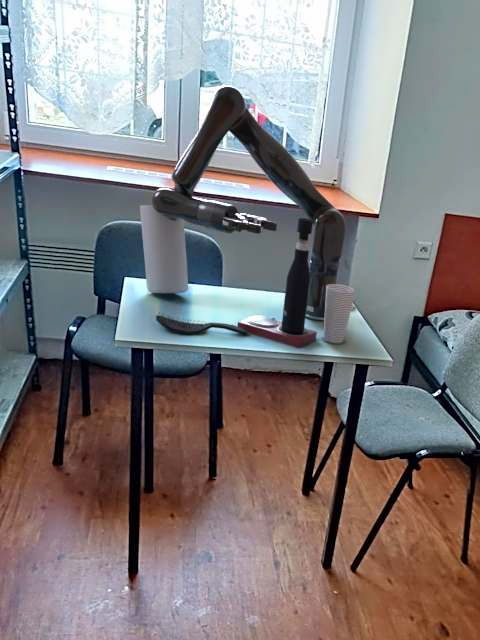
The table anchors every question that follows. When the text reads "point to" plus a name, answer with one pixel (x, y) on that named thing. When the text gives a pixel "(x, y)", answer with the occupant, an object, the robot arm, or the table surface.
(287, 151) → the robot arm
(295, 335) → the hot plate
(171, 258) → the cylinder vase
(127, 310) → the table surface
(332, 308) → the cup
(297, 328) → the water bottle
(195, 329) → the hairbrush
